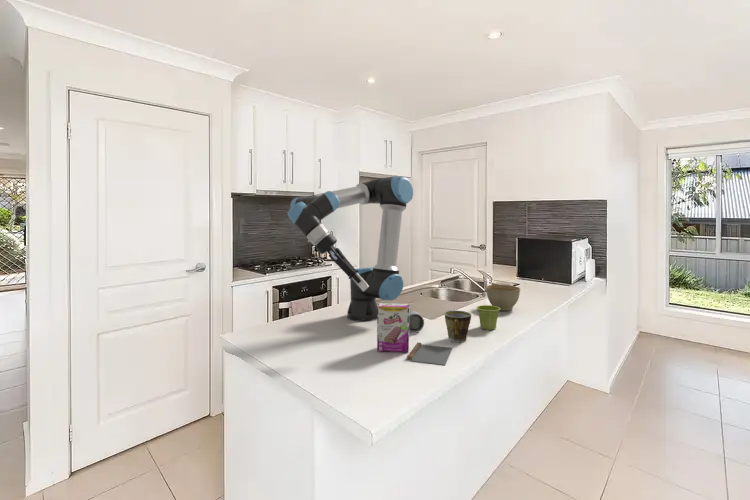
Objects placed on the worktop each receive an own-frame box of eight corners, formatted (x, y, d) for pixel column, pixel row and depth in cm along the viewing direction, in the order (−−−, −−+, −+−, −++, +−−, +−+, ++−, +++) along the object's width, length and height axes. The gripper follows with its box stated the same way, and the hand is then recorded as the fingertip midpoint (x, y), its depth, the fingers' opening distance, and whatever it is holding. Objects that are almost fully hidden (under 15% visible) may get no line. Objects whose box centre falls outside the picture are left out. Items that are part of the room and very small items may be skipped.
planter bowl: (524, 312, 181) (525, 290, 180) (491, 313, 181) (491, 290, 180) (513, 304, 197) (513, 284, 196) (481, 305, 197) (482, 284, 196)
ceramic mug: (420, 326, 162) (420, 308, 161) (424, 332, 153) (424, 313, 153) (396, 327, 161) (395, 309, 160) (398, 333, 153) (398, 314, 152)
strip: (407, 359, 125) (407, 356, 125) (417, 345, 138) (417, 342, 138) (411, 360, 124) (411, 356, 124) (421, 346, 137) (421, 342, 137)
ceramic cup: (445, 334, 151) (445, 309, 150) (471, 336, 148) (472, 311, 147) (441, 345, 138) (442, 318, 137) (470, 347, 135) (470, 320, 134)
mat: (411, 361, 123) (411, 360, 123) (422, 345, 138) (422, 344, 138) (444, 365, 120) (444, 364, 120) (452, 348, 135) (452, 347, 135)
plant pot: (473, 325, 162) (473, 305, 162) (494, 324, 163) (494, 304, 162) (481, 331, 153) (481, 310, 152) (503, 331, 154) (504, 310, 153)
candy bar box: (377, 352, 132) (376, 306, 130) (378, 347, 137) (377, 302, 135) (409, 353, 131) (409, 306, 129) (409, 348, 136) (409, 303, 134)
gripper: (318, 245, 142) (360, 292, 142) (310, 247, 129) (356, 298, 129) (333, 232, 141) (375, 279, 141) (326, 232, 128) (373, 284, 128)
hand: (366, 288), depth 135 cm, fingers closed
